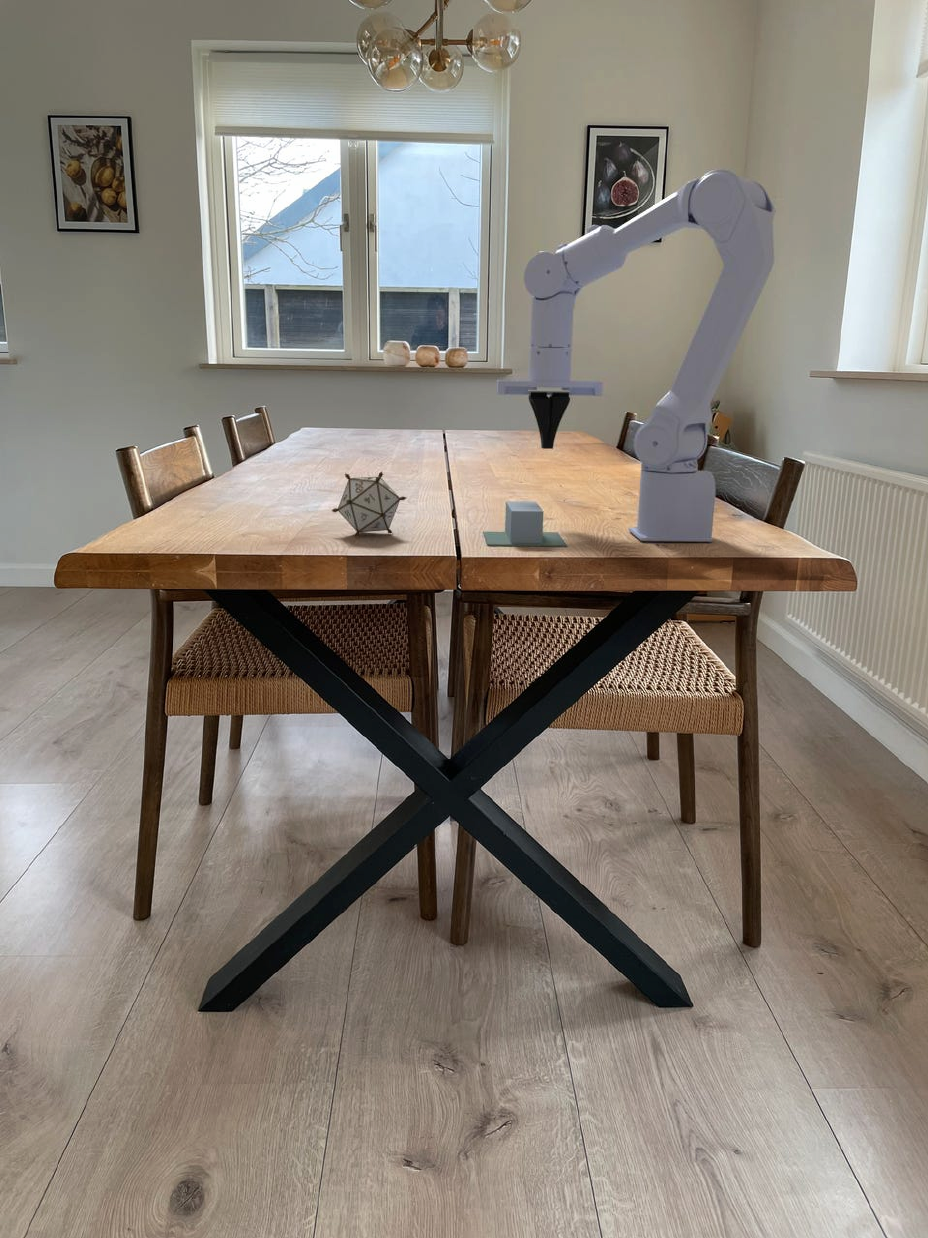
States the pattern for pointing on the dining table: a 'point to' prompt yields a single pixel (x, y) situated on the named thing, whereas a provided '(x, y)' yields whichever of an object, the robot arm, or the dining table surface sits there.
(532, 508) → the slate-blue block
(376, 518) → the game die
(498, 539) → the felt mat
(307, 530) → the dining table surface
